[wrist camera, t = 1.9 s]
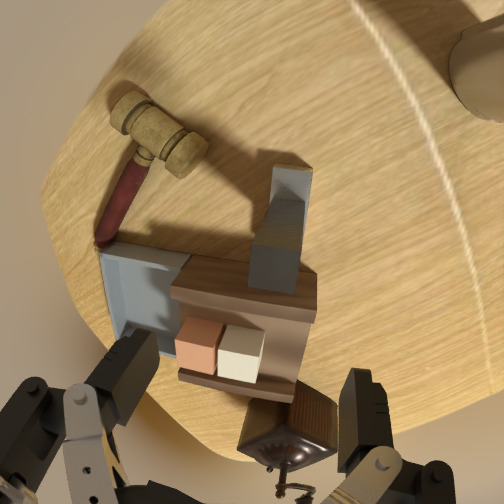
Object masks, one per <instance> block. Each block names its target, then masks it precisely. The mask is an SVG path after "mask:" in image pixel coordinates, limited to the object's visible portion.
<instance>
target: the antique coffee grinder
mask: <svg viewBox="0 0 504 504" xmlns="http://www.w3.org/2000/svg"><path fill="white" fill-rule="evenodd" d="M337 407H338V405H337V404H336V403H335V402H334V401H333V400H332V399H330V398H328V397H327V396H325V395H323V394H322V393H320V392H318V391H317V390H315V389H313V388H312V387H310V386H308V385H306V384H304V383H302V382H301V381H299V380H296V384H295V393H294V398H293V401H292V403H286V402H280V401H274V400H267V399H262V398H256V397H255V398H254V399H252V400H251V401H250V402H249V404H248V409H247V413H246V416H245V420H244V424H243V427H242V431H241V435H240V439H239V443H238V446H237V451H239V452H241V453H243V454H245V455H248V456H250V457H252V458H254V459H255V460H256V461H258V462H259V463H261V464H262V465H265V466H268V468H267V472H269V473H270V472H272V471H273V468H276V469H280V476H279V482H278V484H276V486H275V487H276V489H277V491H276V494H275V495H276V497H277V498H279V499H280V498H283V497H284V496H285V490H286V488H293V489H300V490H306V491H308V492H307V493H306V494H303V495H302V496H301V497H300V498H297V499H295V502H296V504H312V500H313V499H314V498H313V497H311V496H312V495H313V494H314V493H315V492H316V491H315V487H312V486H309V485H304V484H298V483H290V484H286V476H287V473H289V472H292V471H295V470H298V469H301V468H303V467H306V466H309V465H311V464H314V463H316V462H318V461H321V460H323V459H325V458H327V457H329V456H331V455H333V454H335V453H337V451H338V415H337Z"/></svg>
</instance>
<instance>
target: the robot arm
mask: <svg viewBox="0 0 504 504" xmlns="http://www.w3.org/2000/svg"><path fill="white" fill-rule="evenodd" d="M449 73H450V79H451V82H452V85H453V88H454V90H455V92H456V94H457V96H458V98H459V99H460V101H461V102H462V104H463V105H464V106H465V107H466V108H467V109H468V110H469V111H470V112H471V113H473V114H474V115H475V116H477V117H479V118H481V119H484V120H488V121H494V122H500V123H504V13H503V14H500V15H498V16H496V17H493V18H491V19H489V20H486V21H484V22H482V23H480V24H478V25H475V26H473V27H471V28H469V29H467V30H465V31H463V32H462V38H461V40H460V42H458V43H457V44H456V45H455V47H454V48H453V50H452V52H451V55H450V59H449ZM159 361H160V356H159V350H158V343H157V336H156V333H155V332H154V331H150V330H147V329H143V328H139V327H138V328H136V329H135V331H134V332H133V333H132V335H131V336H130V337H127V336H124V337H122V338H121V339H119V340H118V341H116V342H115V343H114V344H113V346H112V347H111V348H110V349H109V352H107V353H106V355H105V356H104V358H103V359H102V360H101V361H100V362H99V364H98V365H97V367H96V368H95V369H94V371H93V372H92V373H91V375H90V376H89V377H88V378H87V380H86V381H85V382H84V383H78V384H74V385H72V386H70V387H69V388H68V389H67V390H65V389H57V388H50V387H48V385H47V383H46V382H45V380H43V379H42V378H40V377H30V378H28V379H26V380H25V381H23V382H22V384H21V385H20V386H19V387H18V389H17V390H16V391H15V392H14V394H13V395H12V397H11V398H10V399H9V401H8V402H7V403H6V405H5V406H4V407H3V409H2V410H1V412H0V504H38V500H37V497H36V495H35V493H36V491H37V489H38V487H39V485H40V483H41V481H42V480H43V478H44V476H45V474H46V472H47V470H48V468H49V466H50V464H51V463H52V461H53V459H54V457H55V455H56V453H57V452H58V450H59V448H60V446H61V444H62V443H63V454H64V461H65V467H66V473H67V479H68V484H69V490H70V495H71V499H72V503H73V504H204V503H201V502H199V501H197V500H195V499H193V498H192V497H190V496H188V495H186V494H184V493H182V492H181V491H179V490H177V489H174V488H171V487H168V486H165V485H162V484H159V483H156V482H153V481H151V480H149V481H148V484H147V485H130V483H129V480H128V477H127V475H126V473H125V471H124V468H123V465H122V462H121V458H120V454H119V451H118V447H117V443H116V439H115V435H114V431H113V428H114V427H115V425H116V423H117V424H120V425H122V426H126V424H127V422H128V421H129V419H130V417H131V415H132V413H133V412H134V409H135V408H136V406H137V405H138V403H139V401H140V399H141V397H142V396H143V394H144V392H145V390H146V389H147V387H148V385H149V383H150V382H151V380H152V378H153V376H154V375H155V373H156V371H157V369H158V366H159ZM66 436H67V440H66V441H64V439H65V437H66ZM338 473H346V479H345V480H344V481H343V482H342V483H341V484H340V485H339V486H338V487H337V488H336V490H334V491H333V492H332V493H331V494H330V495H329V496H328V497H327V498H326V499H325V500H324V501H323V502H322V503H320V504H456V497H455V486H454V476H453V471H452V469H451V467H450V466H449V465H447V463H445V462H443V461H439V460H438V461H437V460H435V461H431V462H429V463H428V464H426V465H425V466H423V465H419V464H415V463H411V462H408V461H406V460H404V459H402V458H401V455H400V454H399V453H398V452H397V451H396V450H395V449H394V445H393V438H392V429H391V421H390V414H389V407H388V400H387V394H386V392H385V390H384V388H383V387H382V385H381V384H380V383H373V382H372V375H371V371H370V369H360V368H351V370H350V372H349V374H348V377H347V379H346V381H345V384H344V386H343V388H342V391H341V394H340V398H339V435H338Z"/></svg>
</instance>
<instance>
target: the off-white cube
mask: <svg viewBox="0 0 504 504" xmlns="http://www.w3.org/2000/svg"><path fill="white" fill-rule="evenodd" d="M264 337H265V331H261V330H255V329H249V328H244V327H238V326H233V325H228V326H227V328H226V331H225V333H224V336H223V338H222V341H221V343H220V346H219V348H218V376H220V377H225V378H230V379H235V380H240V381H245V382H250V383H256V379H257V375H258V370H259V366H260V362H261V358H262V351H263V344H264Z"/></svg>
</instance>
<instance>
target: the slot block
mask: <svg viewBox="0 0 504 504" xmlns="http://www.w3.org/2000/svg"><path fill="white" fill-rule="evenodd" d="M249 265H250V263H244V262H238V261H231V260H225V259H219V258H213V257H206V256H200V255H193V257H192V258H191V259H190V260H189V262H188V263H187V264H186V265H185V267H184V268H183V269H182V270H181V272H180V273H179V274H178V276H177V277H176V278H175V279H174V281H173V282H172V283H171V284H170V295H171V298H173V299H177V300H179V312H180V327H181V328H182V326H183V324H184V323H185V321H186V319H187V317H188V316H189V317H193V318H198V319H203V320H208V321H213V322H218V323H223V336H224V333H225V331H226V328H227V326H228V325H233V326H238V327H244V328H249V329H255V330H261V331H265V337H264V344H263V351H262V358H261V362H260V366H259V370H258V375H257V379H256V383H250V382H245V381H240V380H235V379H230V378H225V377H220V376H218V364H217V366H216V369H215V371H214V374H213V375H211V374H207V373H203V372H198V371H194V370H190V369H186V368H182V367H180V369H179V371H178V378H179V380H180V381H184V382H188V383H192V384H196V385H200V386H204V387H208V388H212V389H217V390H221V391H226V392H230V393H235V394H240V395H245V396H251V397H256V398H262V399H267V400H274V401H280V402H286V403H292V401H293V398H294V393H295V384H296V380H297V377H298V373H299V369H300V366H301V362H302V358H303V354H304V350H305V347H306V343H307V339H308V335H309V331H310V327H311V323H312V324H314V321H315V317H316V312H317V274H315V273H308V272H301V271H298V275H297V280H296V286H295V292H294V294H289V293H283V292H276V291H270V290H264V289H258V288H252V287H248V277H249Z"/></svg>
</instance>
